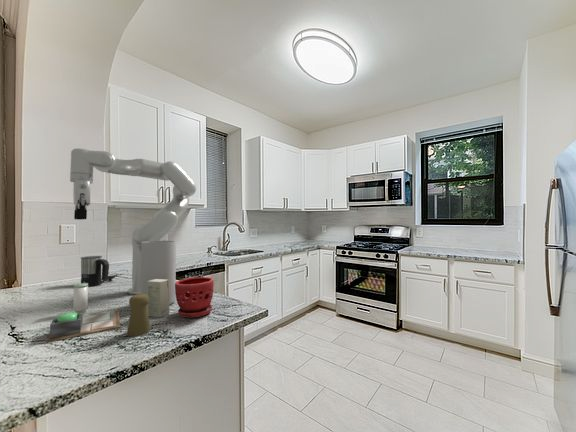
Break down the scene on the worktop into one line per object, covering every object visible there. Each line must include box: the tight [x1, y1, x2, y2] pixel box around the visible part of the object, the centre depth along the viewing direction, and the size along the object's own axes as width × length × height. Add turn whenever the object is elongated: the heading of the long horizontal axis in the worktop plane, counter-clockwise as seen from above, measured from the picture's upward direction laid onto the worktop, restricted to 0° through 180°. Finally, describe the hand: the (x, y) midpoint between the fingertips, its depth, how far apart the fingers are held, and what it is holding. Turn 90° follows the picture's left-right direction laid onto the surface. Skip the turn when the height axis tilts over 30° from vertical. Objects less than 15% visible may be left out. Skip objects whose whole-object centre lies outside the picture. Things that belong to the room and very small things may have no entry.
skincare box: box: [147, 279, 170, 318], centre depth 92 cm, size 6×4×12 cm
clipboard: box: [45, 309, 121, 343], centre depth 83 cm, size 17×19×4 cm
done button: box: [57, 312, 77, 323], centre depth 76 cm, size 4×4×2 cm
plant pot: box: [175, 276, 214, 319], centre depth 93 cm, size 13×13×12 cm
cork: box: [126, 294, 151, 337], centre depth 78 cm, size 6×6×11 cm
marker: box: [72, 282, 89, 314], centre depth 94 cm, size 4×4×10 cm
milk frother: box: [80, 255, 118, 287], centre depth 141 cm, size 14×16×15 cm
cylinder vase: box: [141, 240, 177, 306], centre depth 105 cm, size 12×12×25 cm
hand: (80, 219), depth 109 cm, fingers open, 9 cm apart
